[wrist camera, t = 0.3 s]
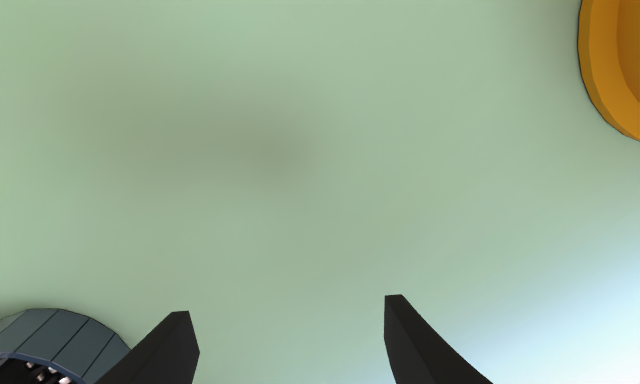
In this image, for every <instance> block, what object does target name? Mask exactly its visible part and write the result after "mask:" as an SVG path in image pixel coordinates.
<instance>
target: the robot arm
mask: <svg viewBox="0 0 640 384" xmlns="http://www.w3.org/2000/svg"><path fill="white" fill-rule="evenodd" d="M384 341H385V345H386V349H387V354H388V358H389V362H390V366H391V369H392V372H393V375H394V378H395V381H396V384H493V383H492V382H491V381H489V380H488V379H487V378H486V377H484V376H483V375H482V374H481V373H480V372H478V371H477V370H476V369H475V368H474V367H473V366H471V365H470V364H469V363H468V362H467V361H466V360H465V359H464V358H462V357H461V356H460V355H459V354H458V353H457V352H456V351H455V350H454V349H453V348H452V347H451V346H450V345H449V344H448V343H447V342H446V341H445V340H444V339H443V338H442V337H441V336H440V335H439V334H438V333H437V332H436V331H435V330H434V329H433V328H432V327H431V326H430V325H429V324H428V323H427V322H426V321H425V320H424V319H423V318H422V317H421V315H420V314H419V313H418V312H417V311H416V310H415V309H414V308H413V307H412V305H411V304H410V303H409V302H408V301H407V300H406V298H405V297H404V296H403V295H401V294H399V295H386V296H385V311H384ZM199 354H200V351H199V347H198V344H197V340H196V336H195V332H194V329H193V325H192V321H191V317H190V314H189V311H178V312H171V313H170V314H169V315H168V316H167V317H166V318H165V319H164V320H163V321H161V322H160V323H159V324H158V325H157V326H156V327H155V328H154V329H153V330H152V331H151V332H150V333H149V334H148V335H147V336H146V337H145V338H144V339H143V340H142V341H140V342H139V343H138V344H137V345H136V346H135V347H134V348H133V349H132V350H131V351H130V352H129V353H128V354H127V355H125V356H124V357H123V358H122V359H121V360H120V361H119V362H118V363H117V364H116V365H114V366H113V367H112V368H111V369H110V370H109V371H108V372H106V373H105V374H104V375H103V376H102V377H101V378H99V379H98V380H97V381H96V382H95V383H94V384H192V381H193V377H194V374H195V370H196V366H197V362H198V358H199Z"/></svg>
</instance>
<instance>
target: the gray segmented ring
mask: <svg viewBox="0 0 640 384" xmlns="http://www.w3.org/2000/svg"><path fill="white" fill-rule="evenodd" d="M114 333H115V332H113V331H112V330H110V329H108V328H107V327H105V326H103V325H102V324H100V323H99V322H97V321H95V320H94V319H92V318H90V319H89V317H87V316H83V315H80V314H76V313H73V312H69V311H66V310H62V309H60V310H59V309H30V310H25V311H23V312H20V313H17V314H14V315H12V316H9V317H6V318H4V319H3V320H1V321H0V358H16V359H20V360H24V361H28V362H32V363H36V364H40V365H44V366H48V367H50V368H52V369H54V370H56V371H58V372H60V373H61V374H63V375H65V376H67V377H69V378H71V379H73V380H74V381H76V382H77V383H78V384H94V383H95V382H96V381H97V380H98V379H99V378H101V377H102V376H103V375H104V374H105V373H106V372H108V371H109V370H110V369H111V368H112V367H113V366H114V365H116V364H117V363H118V362H119V361H120V360H121V359H122V358H123V357H124V356H125V355H127V354H128V353H129V352H130V350H129V348H128V347H127V346H126V345H125V344H124V342H123V341H122V340H121V339H120V338H119V336H118V335H117V334H114Z"/></svg>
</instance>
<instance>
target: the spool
mask: <svg viewBox="0 0 640 384" xmlns="http://www.w3.org/2000/svg"><path fill="white" fill-rule="evenodd" d="M578 51H579V58H580V65H581V72H582V78H583V80H584V83H585V85H586V88H587V90H588V93H589V96H590V98H591V101H592V102H593V104H594V105H595V107H596V108H597V109H598V111H599V112H600V113H601V115H602V116H603V117H604V119H605V120H606V121H607V122H608V123H609V124H611V125H612V126H613V127H615V128H616V129H617V130H618V131H620V132H621V133H622V134H624V135H626V136H628V137H631V138H633V139H636V140H638V141H640V0H583V2H582V6H581V11H580V18H579V39H578Z"/></svg>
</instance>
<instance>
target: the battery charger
mask: <svg viewBox="0 0 640 384" xmlns="http://www.w3.org/2000/svg"><path fill="white" fill-rule="evenodd" d="M0 384H78V383H77V382H76V381H74V380H73V379H71V378H69V377H67V376H65V375H63V374H61V373H60V372H58V371H56V370H54V369H52V368H50V367H48V366H44V365H40V364H36V363H32V362H28V361H24V360H20V359H16V358H0Z"/></svg>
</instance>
